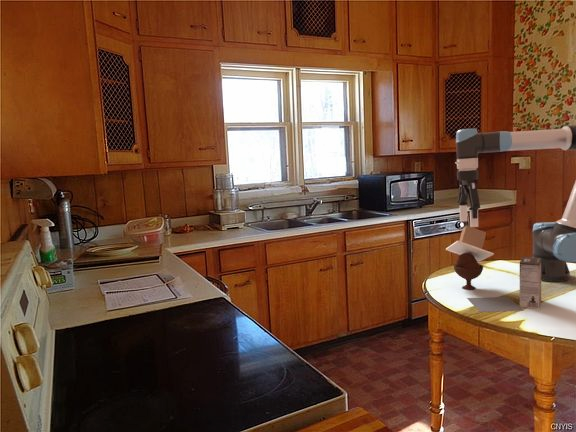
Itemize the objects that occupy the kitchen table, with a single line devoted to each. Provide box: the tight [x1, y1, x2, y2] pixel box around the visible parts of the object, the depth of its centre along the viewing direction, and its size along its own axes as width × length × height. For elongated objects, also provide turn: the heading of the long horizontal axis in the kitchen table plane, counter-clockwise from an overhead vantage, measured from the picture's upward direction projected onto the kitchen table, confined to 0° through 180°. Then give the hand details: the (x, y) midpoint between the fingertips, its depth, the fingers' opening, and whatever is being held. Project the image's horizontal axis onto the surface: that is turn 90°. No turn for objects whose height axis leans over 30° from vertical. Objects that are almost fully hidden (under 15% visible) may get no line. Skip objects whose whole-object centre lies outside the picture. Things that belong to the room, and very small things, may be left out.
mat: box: [466, 296, 525, 313], centre depth 155 cm, size 14×14×1 cm
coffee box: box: [519, 256, 542, 310], centre depth 152 cm, size 9×6×16 cm
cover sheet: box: [445, 225, 495, 263], centre depth 173 cm, size 14×14×10 cm
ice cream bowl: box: [453, 253, 484, 291], centre depth 173 cm, size 11×11×15 cm
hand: (468, 224), depth 170 cm, fingers open, 13 cm apart
